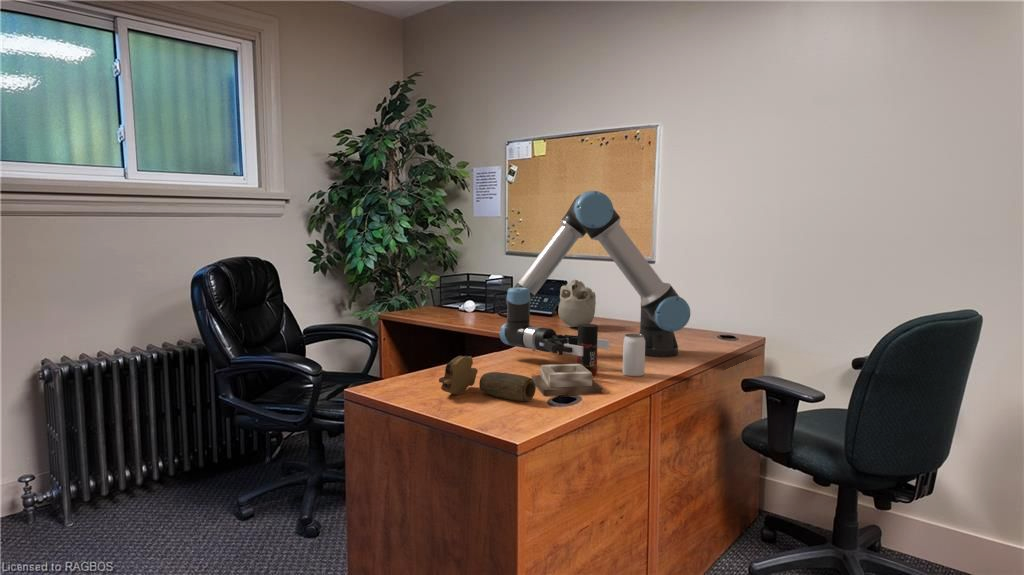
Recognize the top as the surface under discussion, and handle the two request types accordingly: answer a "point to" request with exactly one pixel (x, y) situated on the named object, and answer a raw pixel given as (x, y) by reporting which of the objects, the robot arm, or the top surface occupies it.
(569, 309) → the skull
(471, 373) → the wooden carving
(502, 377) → the olive hollow cylinder
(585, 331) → the deodorant
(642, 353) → the can
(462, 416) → the top surface
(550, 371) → the socket
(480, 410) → the top surface
